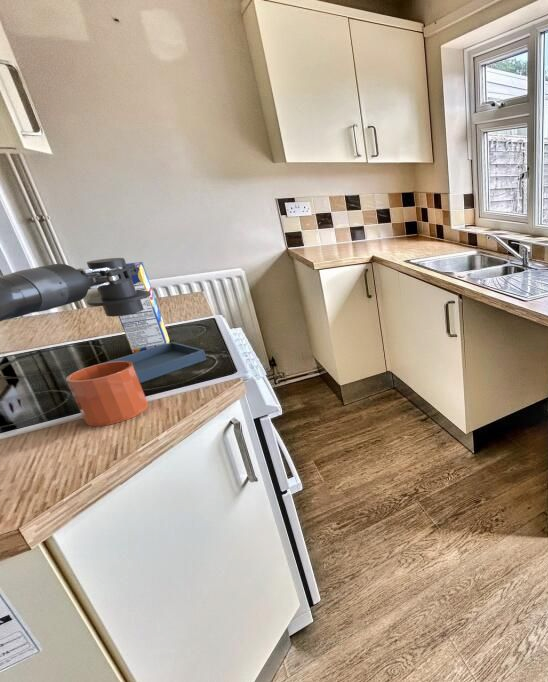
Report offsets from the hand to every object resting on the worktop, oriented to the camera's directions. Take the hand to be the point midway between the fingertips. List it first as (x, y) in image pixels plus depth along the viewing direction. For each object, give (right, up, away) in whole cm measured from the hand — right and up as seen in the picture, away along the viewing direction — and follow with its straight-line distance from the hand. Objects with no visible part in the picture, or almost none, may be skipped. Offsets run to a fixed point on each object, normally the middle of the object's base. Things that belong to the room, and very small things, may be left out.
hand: (119, 270), depth 93 cm
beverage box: (-9, -18, +19) cm, 28 cm away
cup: (+12, -30, -13) cm, 34 cm away
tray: (+1, -22, +6) cm, 23 cm away
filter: (0, -9, +1) cm, 9 cm away
